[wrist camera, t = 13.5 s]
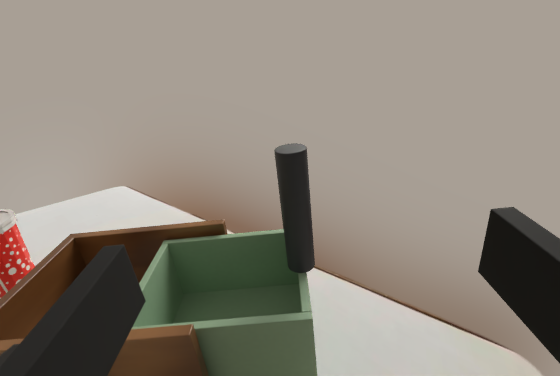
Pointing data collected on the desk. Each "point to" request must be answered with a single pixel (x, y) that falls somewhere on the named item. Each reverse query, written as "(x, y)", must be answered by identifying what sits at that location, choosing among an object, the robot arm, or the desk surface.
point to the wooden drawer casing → (141, 250)
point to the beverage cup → (12, 253)
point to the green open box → (244, 287)
